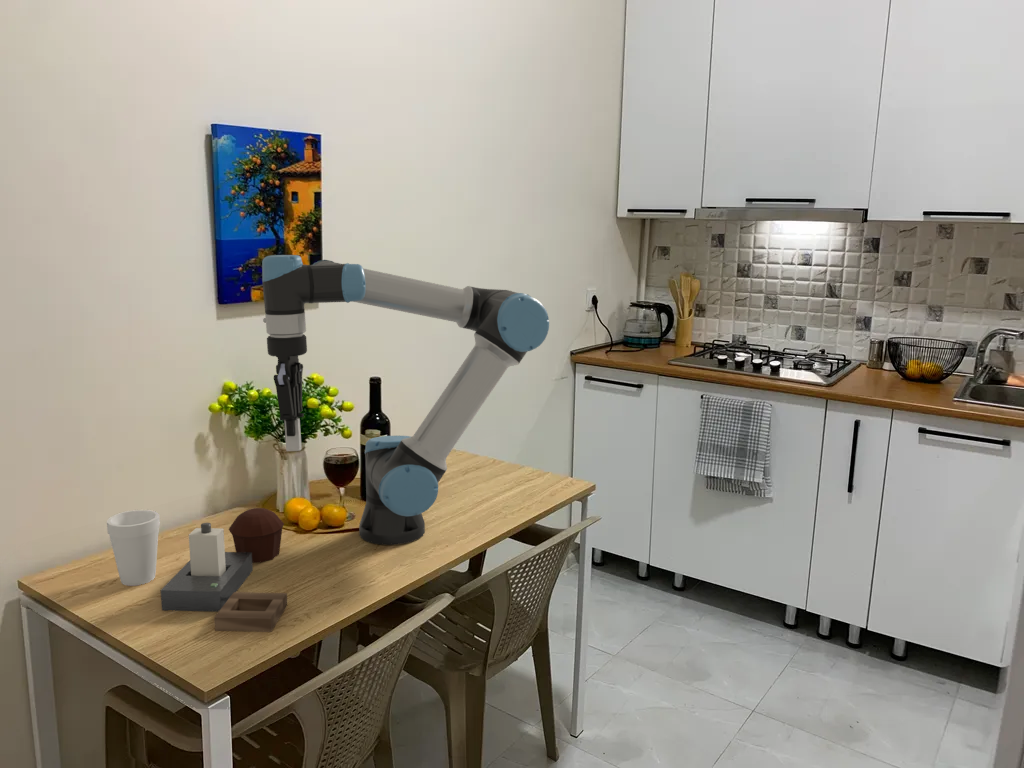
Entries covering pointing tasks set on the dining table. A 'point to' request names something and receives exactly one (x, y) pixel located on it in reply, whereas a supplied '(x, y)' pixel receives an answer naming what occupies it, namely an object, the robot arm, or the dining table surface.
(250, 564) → the switch box
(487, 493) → the dining table surface
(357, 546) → the dining table surface
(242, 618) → the brown wooden square frame
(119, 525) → the foam cup
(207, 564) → the plug
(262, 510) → the muffin
